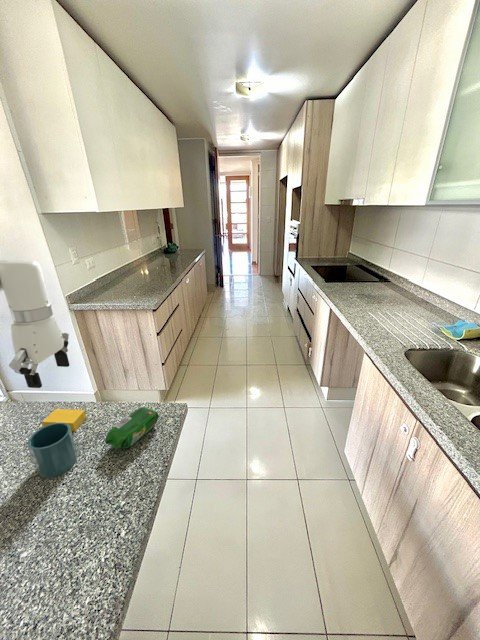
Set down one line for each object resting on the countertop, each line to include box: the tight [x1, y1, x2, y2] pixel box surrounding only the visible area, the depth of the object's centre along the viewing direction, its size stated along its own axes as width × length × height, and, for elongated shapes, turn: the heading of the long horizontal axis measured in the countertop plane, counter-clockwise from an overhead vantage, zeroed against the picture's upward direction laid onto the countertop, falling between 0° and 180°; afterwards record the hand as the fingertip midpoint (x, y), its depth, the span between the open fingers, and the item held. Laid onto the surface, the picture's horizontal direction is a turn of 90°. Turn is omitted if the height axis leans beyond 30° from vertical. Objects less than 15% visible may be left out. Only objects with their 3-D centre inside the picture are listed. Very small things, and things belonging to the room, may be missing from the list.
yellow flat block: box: [42, 408, 87, 432], centre depth 76 cm, size 9×6×3 cm, turn 87°
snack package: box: [104, 406, 160, 454], centre depth 72 cm, size 7×16×5 cm, turn 152°
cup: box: [27, 423, 79, 479], centre depth 63 cm, size 8×8×9 cm
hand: (50, 375), depth 67 cm, fingers open, 9 cm apart
